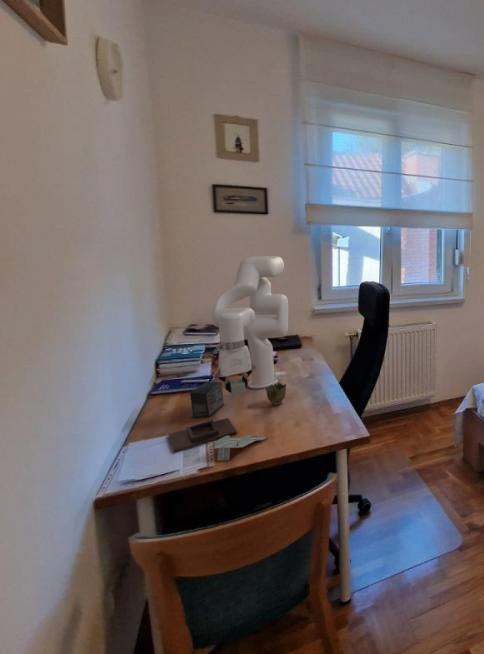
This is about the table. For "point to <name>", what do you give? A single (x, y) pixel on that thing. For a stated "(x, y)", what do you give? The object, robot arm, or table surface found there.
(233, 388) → the gray rectangular block
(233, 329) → the robot arm
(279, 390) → the cup
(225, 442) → the metal bracket
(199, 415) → the small box
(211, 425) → the mounting board
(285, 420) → the table surface
